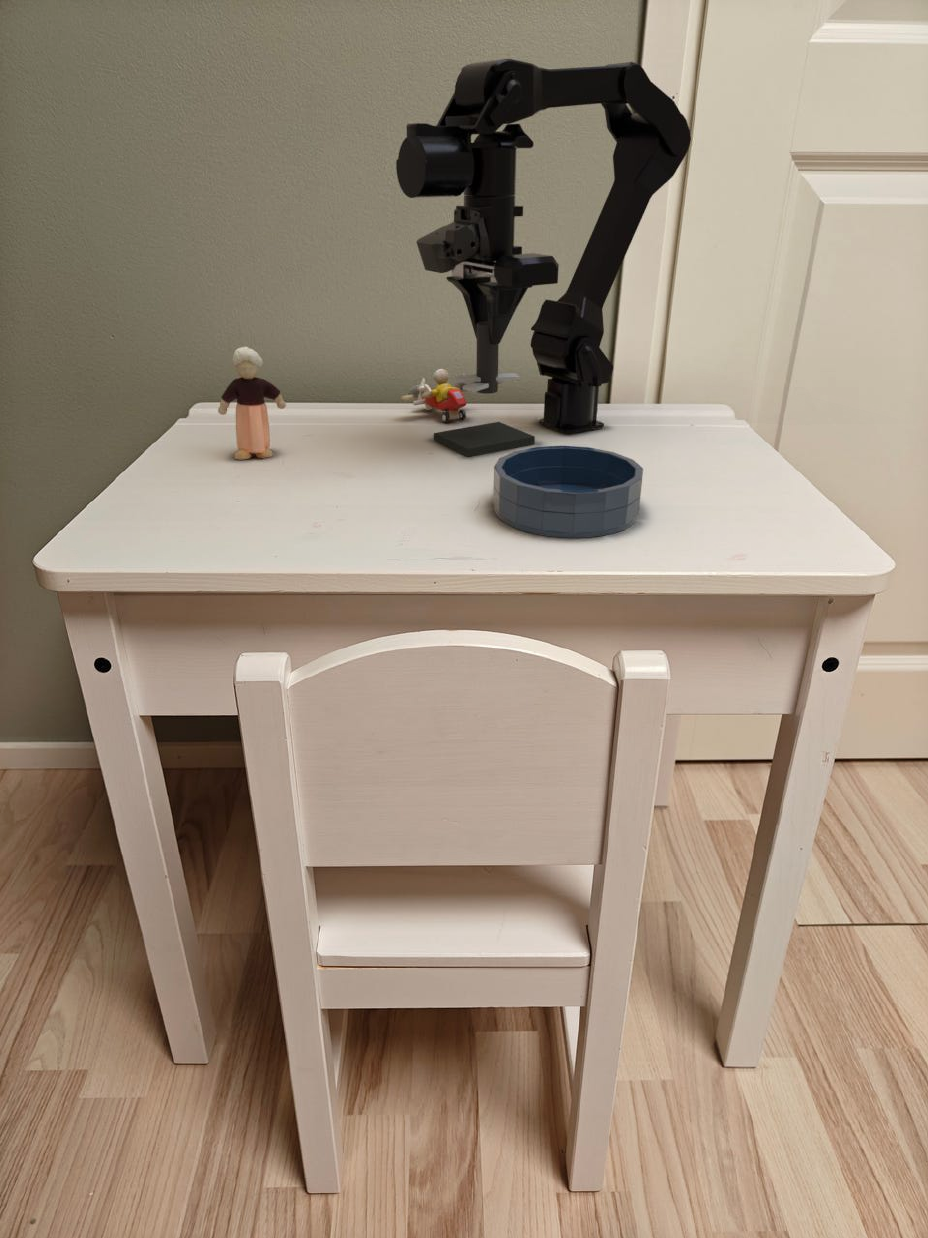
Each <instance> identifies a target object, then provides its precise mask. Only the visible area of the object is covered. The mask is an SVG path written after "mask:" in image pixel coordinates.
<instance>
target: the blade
mask: <svg viewBox="0 0 928 1238" xmlns="http://www.w3.org/2000/svg"><path fill="white" fill-rule="evenodd" d="M499 345H500V343H499V344H495V345H493V344H491V343H490V336H489V325H488V321H481V322H477V339H476V374H465V375H462V374H455V375H454V380H455V382H456V383H463V382H471V383H470V384H467V385H464V386H463V390H466V391H471V393H472V392H474V393H478V394H483V395H484V394H485V395H486V394H487V395H488V394H489V395H490V394H495V393H498V391H499V385H500V384H503V383H506V382H512V381H514V382H518V381H520V376H519V374H518V373H517V372H514V373H513V372H512V373H511V372H509V373H499V347H500V346H499Z"/></svg>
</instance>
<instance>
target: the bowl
mask: <svg viewBox="0 0 928 1238" xmlns="http://www.w3.org/2000/svg"><path fill="white" fill-rule="evenodd" d="M643 475H644V468H643V466H641V465H640V464H639V463H638V462H636V460H634V459H632V458H630V457H628V456H626V455H625V456H624V455H622V454H620V453H617V452H614V451H610V450H606V449H599V448H595V447H589V446H575V445H545V446H535V447H530V448H524V449H519V450H514V451H512V452H510V453H508V454H506V455H503V456H501V457H499V458H498V460H497V461H496V463H495V465H494V466H493V493H492V496H493V498H492V500H493V501H492V505H493V506H494V512H495V515H496V516H497V517H498V519H500V520H501V521H502V522H503V523H505V524H507V525H508V526H509V527H510V526H511V527H512V528H515V529H518V530H520V531H523V532H526V533H530V534H535V535H539V536H545V537H553V538H566V539H568V538H569V539H580V538H581V539H582V538H594V537H595V538H596V537H603V536H607V535H612V534H616V533H619V532H622V531H625V530H626V529H628V528H630V527H631V526H633V525H634V524H635V523H636V521H637V520H638V518H639V514H640V513H639V512H640V506H641V505H640V504H641V496H642V495H641V494H642V484H643V477H644V476H643Z"/></svg>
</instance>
